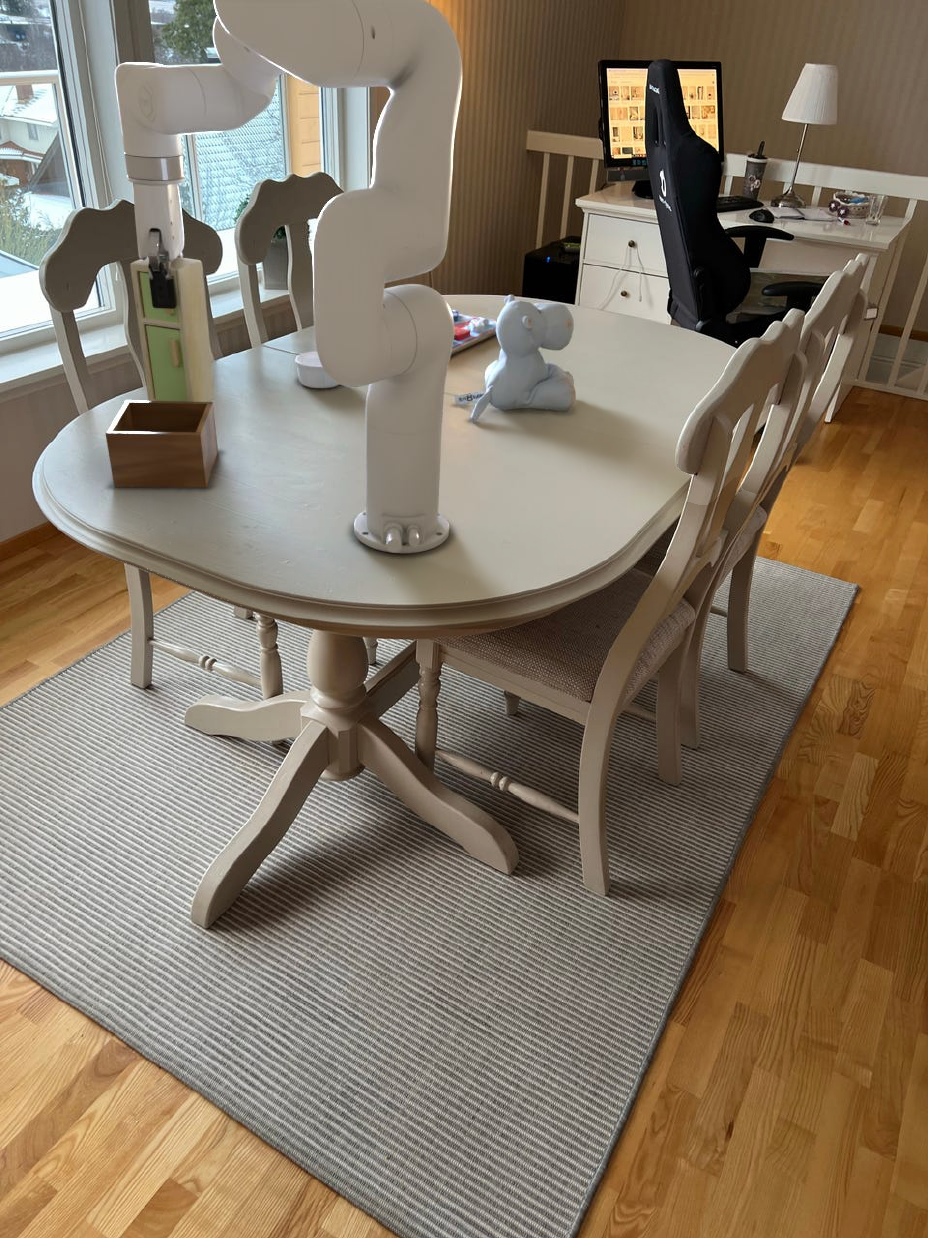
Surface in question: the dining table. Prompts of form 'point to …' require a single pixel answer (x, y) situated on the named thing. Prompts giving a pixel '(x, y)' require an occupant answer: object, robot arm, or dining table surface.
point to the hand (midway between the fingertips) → (170, 298)
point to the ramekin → (313, 371)
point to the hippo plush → (527, 360)
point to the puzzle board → (470, 330)
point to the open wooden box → (162, 444)
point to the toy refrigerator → (175, 335)
